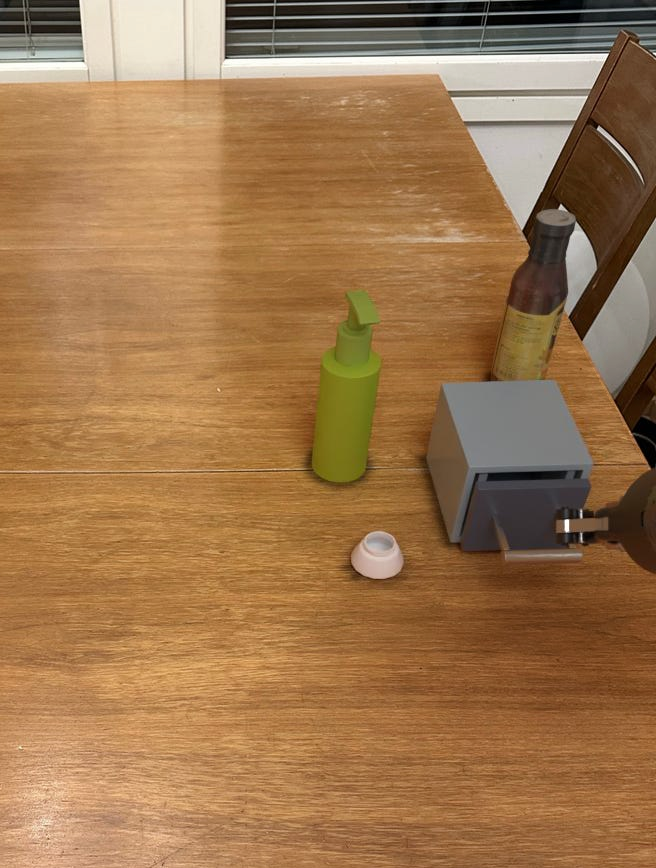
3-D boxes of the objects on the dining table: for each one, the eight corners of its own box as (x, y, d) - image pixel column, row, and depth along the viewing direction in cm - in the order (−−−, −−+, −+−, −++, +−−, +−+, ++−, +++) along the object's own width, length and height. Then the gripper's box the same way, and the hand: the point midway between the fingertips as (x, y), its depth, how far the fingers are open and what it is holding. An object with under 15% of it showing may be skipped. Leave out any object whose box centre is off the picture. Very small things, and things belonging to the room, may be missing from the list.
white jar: (360, 540, 98) (343, 572, 96) (363, 518, 96) (346, 550, 93) (408, 554, 97) (393, 587, 94) (413, 532, 95) (397, 565, 92)
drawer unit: (566, 539, 98) (594, 463, 91) (450, 543, 98) (468, 466, 91) (532, 454, 107) (555, 379, 100) (425, 457, 107) (441, 382, 100)
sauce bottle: (548, 399, 113) (598, 232, 98) (494, 400, 113) (536, 234, 99) (533, 367, 118) (580, 203, 103) (481, 369, 118) (520, 205, 103)
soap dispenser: (321, 492, 104) (340, 321, 89) (305, 452, 108) (320, 283, 93) (375, 485, 104) (402, 314, 89) (357, 445, 109) (380, 277, 94)
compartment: (587, 594, 92) (612, 532, 86) (475, 597, 92) (493, 535, 86) (536, 467, 104) (555, 405, 98) (438, 470, 104) (451, 409, 98)
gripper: (817, 451, 60) (676, 479, 77) (600, 458, 60) (508, 484, 78) (815, 574, 61) (676, 574, 78) (601, 580, 61) (509, 579, 78)
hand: (592, 529), depth 78 cm, fingers closed
